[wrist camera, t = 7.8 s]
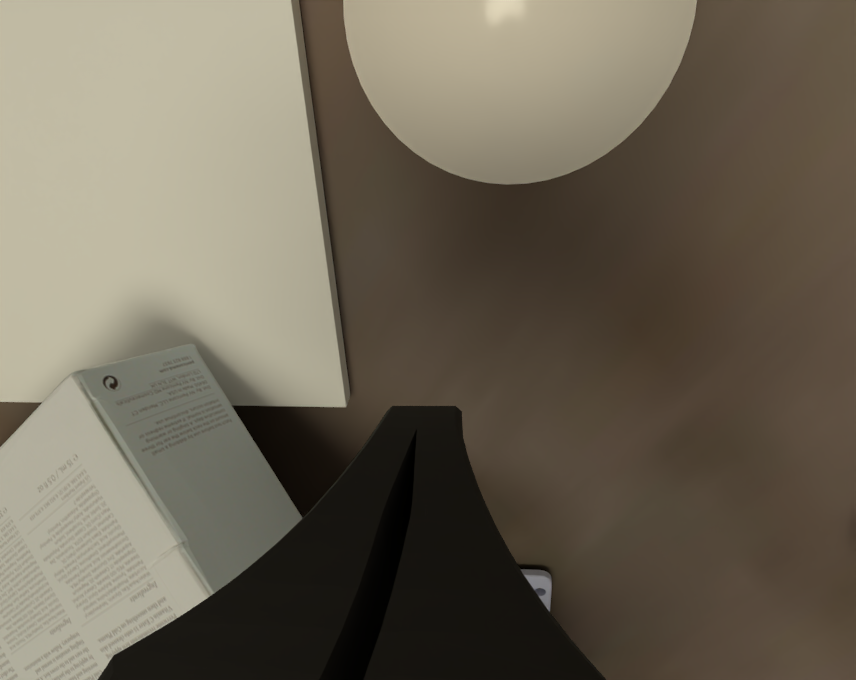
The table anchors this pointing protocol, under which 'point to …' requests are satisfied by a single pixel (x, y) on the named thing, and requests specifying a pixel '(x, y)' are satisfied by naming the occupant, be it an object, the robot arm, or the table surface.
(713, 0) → the table surface
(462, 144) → the cream round disc
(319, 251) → the white tray
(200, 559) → the grey printed book
